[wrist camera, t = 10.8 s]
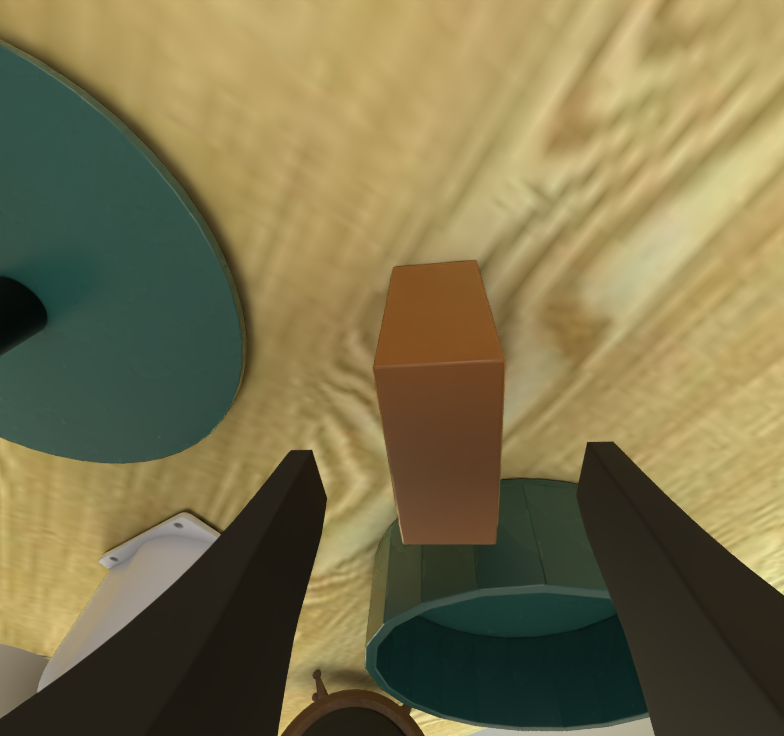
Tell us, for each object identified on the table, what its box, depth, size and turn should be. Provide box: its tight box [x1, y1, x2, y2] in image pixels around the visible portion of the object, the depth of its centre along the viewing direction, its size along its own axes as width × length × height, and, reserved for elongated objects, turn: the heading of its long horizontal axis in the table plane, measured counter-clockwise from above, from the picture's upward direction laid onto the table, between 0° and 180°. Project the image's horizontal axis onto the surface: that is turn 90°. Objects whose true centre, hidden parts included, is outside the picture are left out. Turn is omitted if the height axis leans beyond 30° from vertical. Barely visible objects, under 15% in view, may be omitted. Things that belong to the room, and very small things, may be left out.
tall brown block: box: [373, 260, 506, 544], centre depth 14 cm, size 3×7×6 cm, turn 7°
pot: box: [365, 479, 650, 731], centre depth 23 cm, size 17×17×5 cm
